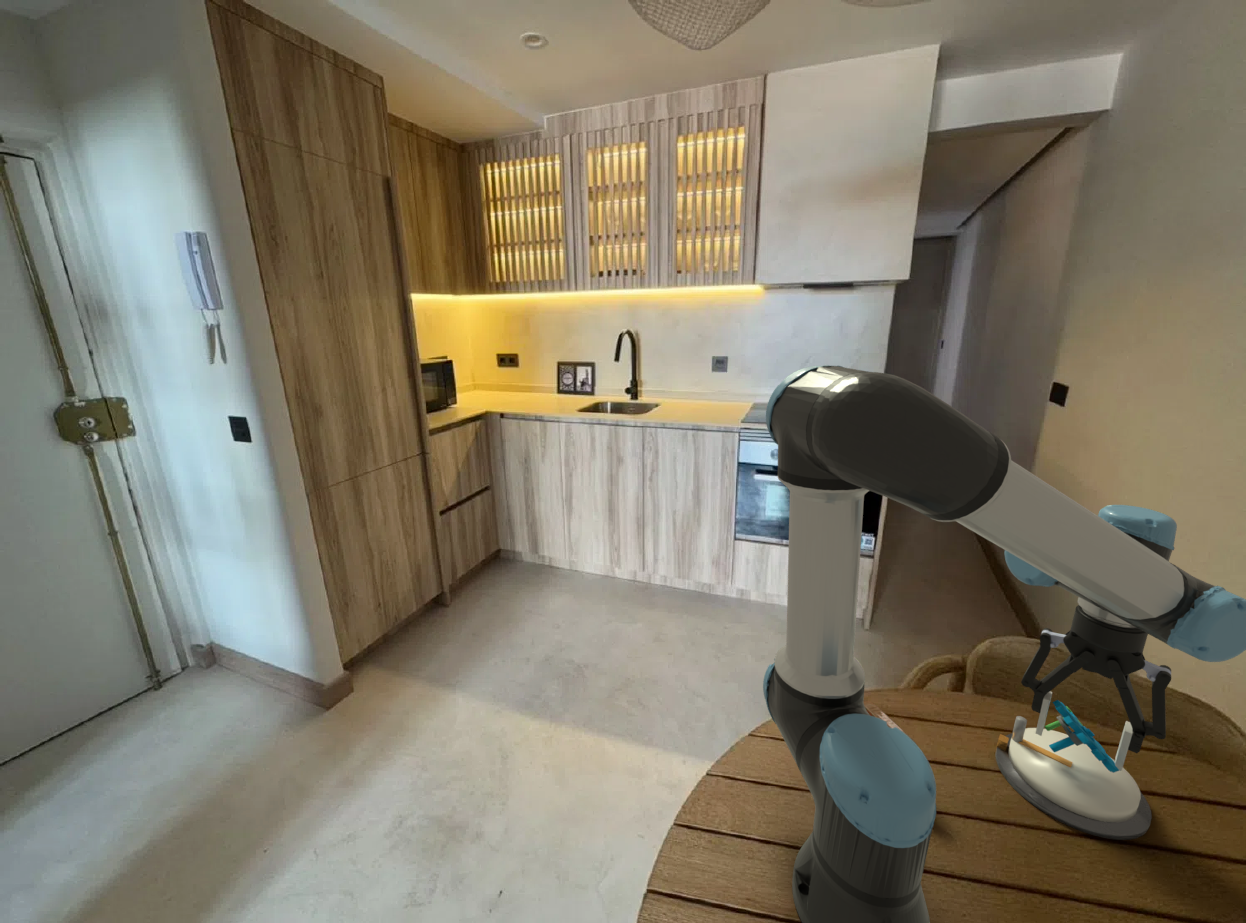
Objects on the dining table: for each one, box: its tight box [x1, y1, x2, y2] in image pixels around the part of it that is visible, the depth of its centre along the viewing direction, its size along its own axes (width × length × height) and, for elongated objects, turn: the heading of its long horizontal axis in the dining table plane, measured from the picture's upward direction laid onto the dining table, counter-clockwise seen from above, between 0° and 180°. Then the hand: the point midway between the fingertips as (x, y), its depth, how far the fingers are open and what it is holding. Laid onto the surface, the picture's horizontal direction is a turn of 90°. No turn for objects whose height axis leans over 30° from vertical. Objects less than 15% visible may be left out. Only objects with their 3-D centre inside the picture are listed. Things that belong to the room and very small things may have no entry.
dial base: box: [995, 733, 1153, 841], centre depth 77 cm, size 18×18×2 cm
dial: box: [1008, 715, 1142, 822], centre depth 76 cm, size 15×15×6 cm
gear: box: [1044, 699, 1119, 773], centre depth 75 cm, size 11×6×10 cm
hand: (1077, 746), depth 75 cm, fingers closed on gear, 8 cm apart
